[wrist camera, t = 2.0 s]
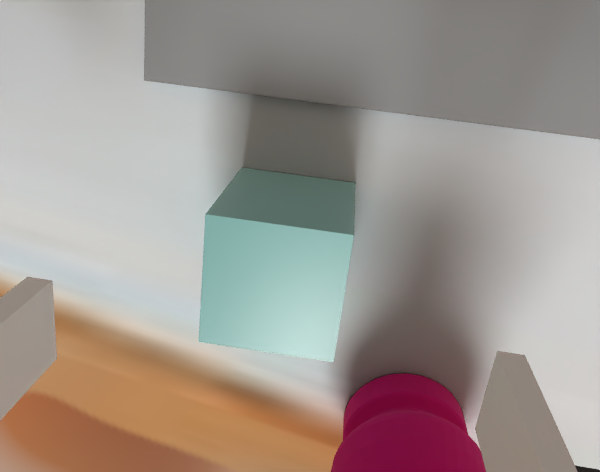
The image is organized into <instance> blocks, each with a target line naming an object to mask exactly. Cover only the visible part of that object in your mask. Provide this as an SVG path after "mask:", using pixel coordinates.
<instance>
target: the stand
mask: <svg viewBox="0 0 600 472" xmlns="http://www.w3.org/2000/svg"><path fill="white" fill-rule="evenodd" d="M144 80H145V81H153V82H161V83H168V84H176V85H184V86H192V87H199V88H207V89H215V90H223V91H230V92H238V93H246V94H253V95H261V96H269V97H277V98H284V99H292V100H300V101H308V102H315V103H323V104H331V105H339V106H346V107H354V108H362V109H370V110H377V111H385V112H393V113H400V114H408V115H416V116H424V117H431V118H439V119H447V120H455V121H462V122H470V123H478V124H486V125H493V126H501V127H509V128H517V129H524V130H532V131H540V132H548V133H555V134H563V135H571V136H578V137H586V138H594V139H600V0H145V58H144Z"/></svg>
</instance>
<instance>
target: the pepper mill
mask: <svg viewBox="0 0 600 472" xmlns="http://www.w3.org/2000/svg"><path fill="white" fill-rule="evenodd" d="M331 472H486V469H485V465H484V461H483V457H482V453H481V451H480V449H479V447H478V446H477V444H476V443H475V442H474V441H473V440H472V439H471V438H470V437H469V436H468V432H467V428H466V424H465V420H464V416H463V412H462V410H461V407H460V405H459V403H458V402H457V400H456V399H455V397H454V396H453V395H452V393H451V392H450V391H449V390H447V389H446V388H445V387H444V386H442V385H441V384H439V383H437V382H435V381H433V380H431V379H429V378H427V377H424V376H420V375H413V374H407V373H403V374H389V375H386V376H383V377H380V378H376V379H374V380H372V381H370V382H369V383H367V384H365V385H364V386H362V387H361V388H360V389H359V390H358V391H357V392H356V393H355V394H354V395H353V397H352V398H351V399H350V401H349V403H348V405H347V407H346V410H345V414H344V425H343V442H342V443H341V445H340V446H339V448H338V450H337V452H336V455H335V457H334V460H333V465H332V469H331Z"/></svg>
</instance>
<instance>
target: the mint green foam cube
mask: <svg viewBox="0 0 600 472" xmlns="http://www.w3.org/2000/svg"><path fill="white" fill-rule="evenodd" d="M354 215H355V183H353V182H346V181H338V180H331V179H324V178H316V177H309V176H301V175H294V174H287V173H279V172H272V171H265V170H257V169H250V168H243V167H242V168H241V170H240V171H239V172H238V173H237V175H236V176H235V177H234V179H233V180H232V181H231V182H230V184H229V185H228V186H227V188H226V189H225V190H224V191H223V193H222V194H221V195H220V196H219V198H218V199H217V200H216V202H215V203H214V204H213V205H212V207H211V208H210V209H209V210H208V212H207V213H206V215H205V233H204V252H203V271H202V290H201V309H200V327H199V342H204V343H210V344H217V345H223V346H230V347H236V348H243V349H250V350H256V351H263V352H269V353H276V354H282V355H289V356H295V357H302V358H308V359H315V360H322V361H328V362H334V357H335V351H336V345H337V338H338V332H339V326H340V320H341V313H342V307H343V301H344V294H345V288H346V282H347V276H348V269H349V263H350V257H351V250H352V244H353V238H354Z"/></svg>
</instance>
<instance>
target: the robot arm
mask: <svg viewBox="0 0 600 472" xmlns="http://www.w3.org/2000/svg"><path fill="white" fill-rule="evenodd" d="M56 359H57V352H56V335H55V318H54V301H53V284H52V281H51V280H44V279H38V278H32V277H27V278H26V279H24V280H23V281H22V282H20V283H19V284H18V285H16V286H15V287H14V288H13V289H11V290H10V291H9V292H7V293H6V294H5V295H3V296H2V297H1V298H0V420H1V419H2V418H3V417H4V416H5V415H6V413H7V412H8V411H9V410H10V409H11V408H12V407H13V406H14V405H15V404H16V403H17V401H18V400H19V399H20V398H21V397H22V396H23V395H24V394H25V393H26V392H27V391H28V390H29V388H30V387H31V386H32V385H33V384H34V383H35V382H36V381H37V380H38V379H39V377H40V376H41V375H42V374H43V373H44V372H45V371H46V370H47V369H48V368H49V367H50V365H51V364H52V363H53V362H54V361H55V360H56ZM475 430H476V434H477V438H478V441H479V445H480V449H481V453H482V457H483V461H484V465H485V469H486V472H600V470H597V469H592V468H586V467H580V466H575V465H574V463H573V460H572V458H571V456H570V454H569V452H568V449H567V447H566V445H565V443H564V441H563V438H562V436H561V434H560V432H559V430H558V427H557V425H556V423H555V421H554V419H553V416H552V414H551V412H550V410H549V408H548V405H547V403H546V401H545V399H544V397H543V394H542V392H541V390H540V388H539V386H538V383H537V381H536V379H535V377H534V375H533V372H532V370H531V368H530V366H529V363H528V361H527V359H526V357H525V355H520V354H513V353H507V352H501V351H497V354H496V357H495V361H494V364H493V368H492V371H491V375H490V378H489V382H488V385H487V389H486V392H485V396H484V399H483V403H482V406H481V410H480V413H479V417H478V420H477V424H476V427H475Z"/></svg>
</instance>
